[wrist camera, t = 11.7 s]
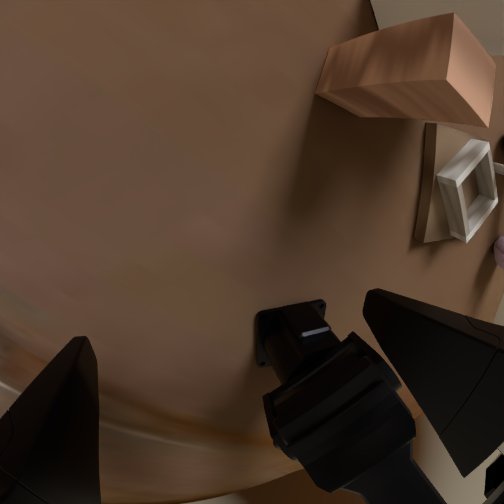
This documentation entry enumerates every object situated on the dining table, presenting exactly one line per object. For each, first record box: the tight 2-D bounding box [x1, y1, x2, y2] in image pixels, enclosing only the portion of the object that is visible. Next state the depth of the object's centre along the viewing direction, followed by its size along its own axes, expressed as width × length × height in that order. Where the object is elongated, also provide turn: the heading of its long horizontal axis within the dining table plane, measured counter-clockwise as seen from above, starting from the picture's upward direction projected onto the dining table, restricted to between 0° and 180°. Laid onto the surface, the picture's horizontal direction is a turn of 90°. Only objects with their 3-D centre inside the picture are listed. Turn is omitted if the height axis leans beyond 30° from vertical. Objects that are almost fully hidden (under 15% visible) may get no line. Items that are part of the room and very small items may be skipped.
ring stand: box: [414, 123, 504, 243], centre depth 22 cm, size 12×12×10 cm
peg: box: [315, 12, 496, 128], centre depth 14 cm, size 4×4×12 cm
